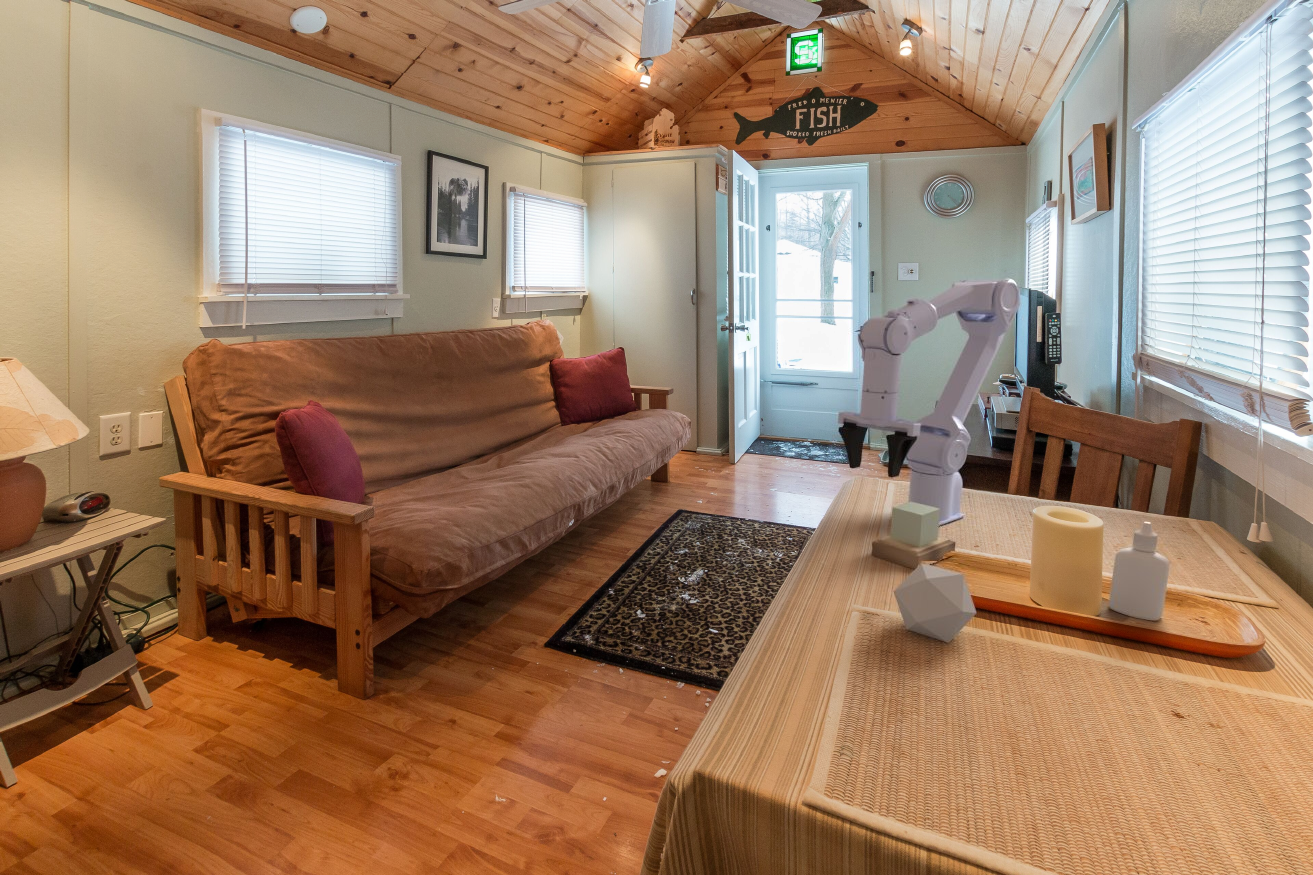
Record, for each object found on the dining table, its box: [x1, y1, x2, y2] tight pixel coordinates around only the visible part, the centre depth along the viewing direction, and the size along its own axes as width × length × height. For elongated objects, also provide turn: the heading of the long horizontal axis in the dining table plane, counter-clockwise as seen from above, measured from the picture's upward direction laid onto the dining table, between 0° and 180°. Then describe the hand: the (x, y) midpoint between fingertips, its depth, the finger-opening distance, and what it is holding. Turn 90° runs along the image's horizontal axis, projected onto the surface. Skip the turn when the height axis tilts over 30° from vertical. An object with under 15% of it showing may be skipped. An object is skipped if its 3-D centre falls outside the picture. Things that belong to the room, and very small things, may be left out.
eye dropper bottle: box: [1108, 521, 1171, 622], centre depth 90 cm, size 4×6×12 cm
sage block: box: [890, 501, 940, 547], centre depth 110 cm, size 5×5×5 cm
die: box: [892, 563, 977, 644], centre depth 85 cm, size 8×9×10 cm
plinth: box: [871, 534, 956, 570], centre depth 111 cm, size 10×8×3 cm
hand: (873, 471), depth 120 cm, fingers open, 7 cm apart
